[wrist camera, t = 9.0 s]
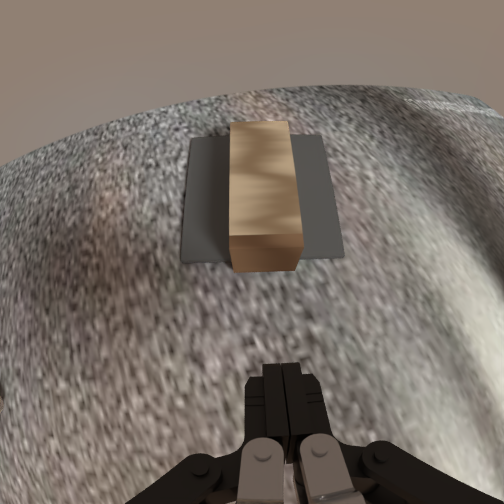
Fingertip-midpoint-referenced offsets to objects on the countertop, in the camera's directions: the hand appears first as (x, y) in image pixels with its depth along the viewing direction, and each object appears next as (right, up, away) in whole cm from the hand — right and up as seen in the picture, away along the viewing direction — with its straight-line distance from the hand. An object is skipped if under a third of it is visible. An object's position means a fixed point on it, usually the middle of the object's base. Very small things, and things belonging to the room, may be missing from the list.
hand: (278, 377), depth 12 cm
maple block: (0, +5, +11) cm, 12 cm away
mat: (0, +11, +17) cm, 20 cm away
